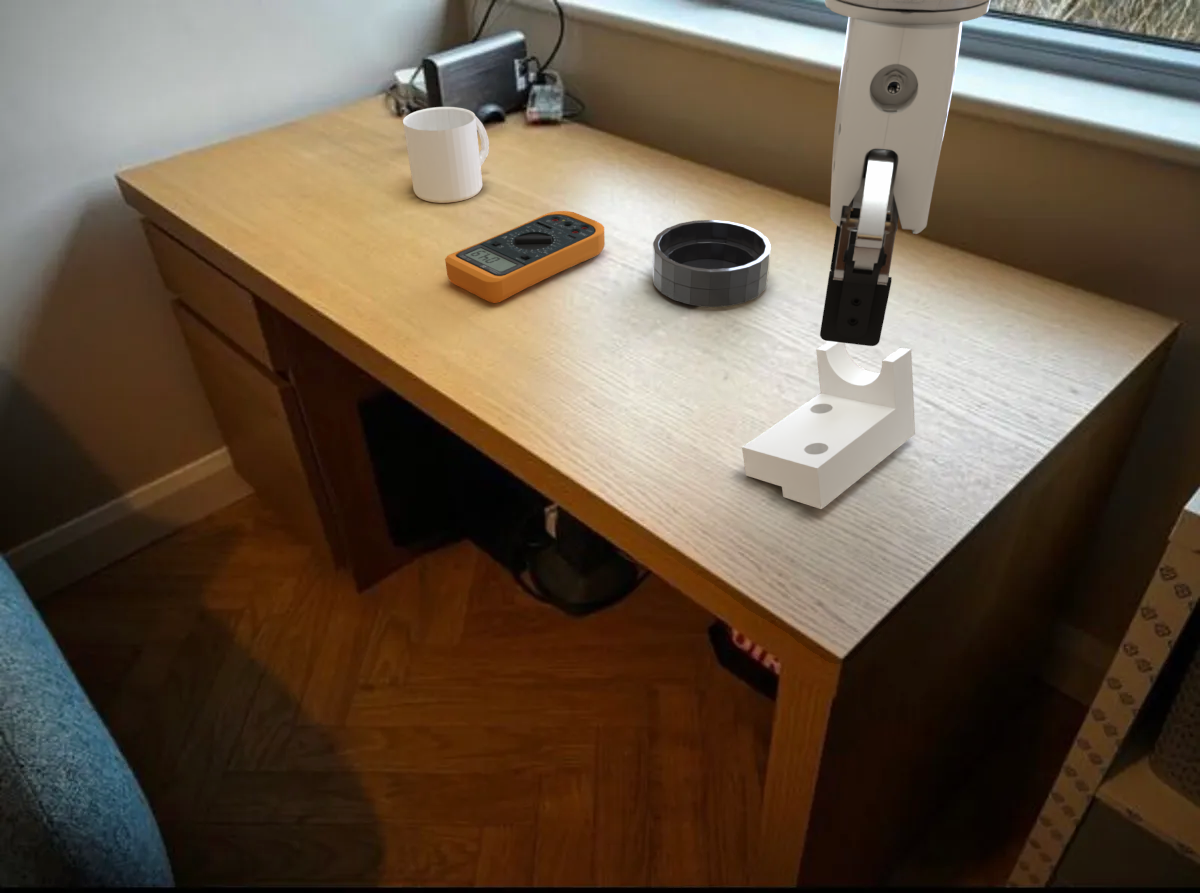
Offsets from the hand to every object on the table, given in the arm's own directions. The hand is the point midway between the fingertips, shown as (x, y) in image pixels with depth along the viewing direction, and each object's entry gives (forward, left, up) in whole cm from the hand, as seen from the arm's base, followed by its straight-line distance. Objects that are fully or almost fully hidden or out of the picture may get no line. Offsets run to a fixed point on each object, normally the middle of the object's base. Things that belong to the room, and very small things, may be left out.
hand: (852, 303), depth 53 cm
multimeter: (+34, -37, -20) cm, 54 cm away
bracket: (0, -11, -20) cm, 23 cm away
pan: (+14, -38, -20) cm, 45 cm away
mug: (+51, -57, -20) cm, 79 cm away
